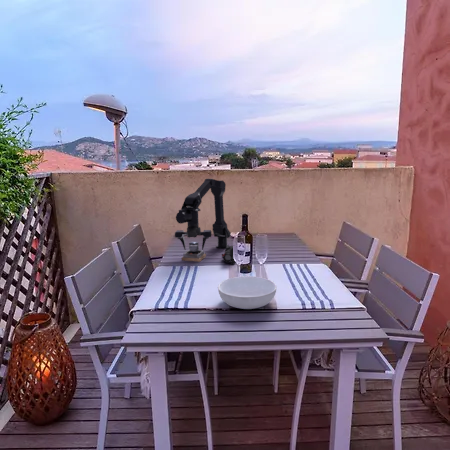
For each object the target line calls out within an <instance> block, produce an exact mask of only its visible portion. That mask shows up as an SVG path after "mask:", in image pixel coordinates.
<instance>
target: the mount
mask: <svg viewBox="0 0 450 450" xmlns="http://www.w3.org/2000/svg"><path fill="white" fill-rule="evenodd" d="M206 257H207V254H206V253H205V250H204V249H203V250H202V249H199V253H198V254H192V253H190V254H189V249H188V250H185V252H183V256H182V257H181V261H186V262H198V263H200V262H202V261H203V260H204V259H206Z"/></svg>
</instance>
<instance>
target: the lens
mask: <svg viewBox="0 0 450 450" xmlns="http://www.w3.org/2000/svg"><path fill="white" fill-rule="evenodd" d="M199 245H200V244H199V242H198V241H190V242H188V250H189V254H190V253H192V254H198V253H199V250H200V249H199Z"/></svg>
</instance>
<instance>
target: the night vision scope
mask: <svg viewBox="0 0 450 450" xmlns="http://www.w3.org/2000/svg"><path fill="white" fill-rule="evenodd" d="M233 246H234V245H231V246H230V245H229V246H228V247H227V248H225V250H224V253H222V254H221V256H222V257H221V258H222V259H223V261H224V262H225V263H230V264H231V265H235V264H236V262H235V261H234V259H233Z"/></svg>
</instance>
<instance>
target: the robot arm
mask: <svg viewBox="0 0 450 450" xmlns="http://www.w3.org/2000/svg"><path fill="white" fill-rule="evenodd" d="M209 191H210V193H212V195H213V198H214V199H213V201H214V217H215V221H214V223H212V230H211V229H204V230H203V231H202V230H201V227H200V226H199V225H200V224H199V223H200V222H199V212H201V209H200V208H199V207H200V205H201V204H202V202H203V201H202V200H203V198H204V196H205V195H206V194H207V193H208V192H209ZM225 192H226V182H225V181H224V180H219V179H218V180H217V179H214V178H206V179H204V181H203V183H202V184H200V186H199V187H198V188H197V189H196V190H194V192H192V193H190V194H188V195H187V196H186V197H185V198H184V201H183V204H182V206H181V208H180V209H178V212H177V213H176V215H175V220H176V222H177V223H178V224H180V225H181V224H185V223H187V226H186V227H187V228H186V231H184V229H183V230H181V229H180V230H179V229H177V230H176V231H175V232H174V238H177V240H179V241H180V242H181V245H182V247H183V250H185V251H187V250H186V249H187V247H186V239H185V238H186V237H185V236H187V238H189V239H190V238H197V237H198V236H203V237H202V243H201V244H202V246H201V250H204V247H205V244H206V241H207V240H208V239H210V238H212V236H213V235H214V237H215V238H217V245H216V246H215V248H218V249H219V248H220V249H226V248H227V247H229V246H230V245H229V244H228V239H229V238H231V234H232V232H231V231H230V230H229V229H228V228H229V227H228V224H227V222H226V220H225V216H224V213H225V212H224V194H225ZM212 232H213V235H212Z"/></svg>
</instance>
